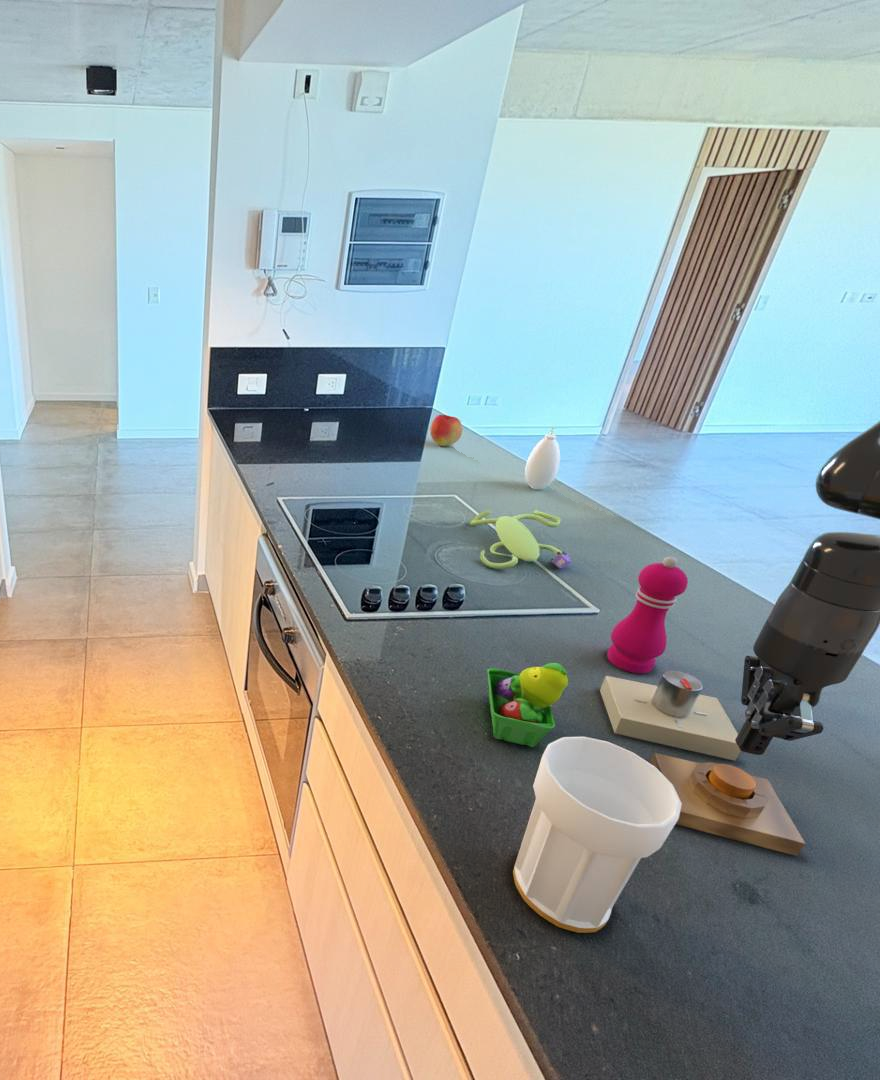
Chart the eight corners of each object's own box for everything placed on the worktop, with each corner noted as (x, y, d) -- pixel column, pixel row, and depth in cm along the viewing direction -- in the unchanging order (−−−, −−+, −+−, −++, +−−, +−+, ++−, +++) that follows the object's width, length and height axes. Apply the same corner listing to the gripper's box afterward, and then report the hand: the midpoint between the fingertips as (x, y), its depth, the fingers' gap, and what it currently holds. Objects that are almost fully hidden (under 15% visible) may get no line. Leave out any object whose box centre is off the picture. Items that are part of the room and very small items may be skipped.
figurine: (550, 528, 149) (556, 507, 146) (579, 582, 126) (587, 558, 124) (467, 519, 154) (471, 499, 151) (480, 569, 131) (486, 546, 129)
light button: (742, 779, 76) (748, 768, 76) (755, 803, 73) (762, 793, 72) (703, 769, 78) (708, 759, 77) (714, 793, 75) (720, 783, 74)
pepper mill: (594, 656, 104) (633, 552, 95) (618, 644, 107) (659, 542, 98) (640, 681, 99) (686, 573, 90) (664, 667, 101) (712, 561, 92)
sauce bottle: (551, 495, 167) (570, 431, 159) (519, 490, 171) (536, 427, 163) (552, 486, 173) (571, 424, 165) (521, 481, 177) (537, 420, 168)
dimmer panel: (709, 713, 92) (717, 696, 90) (735, 761, 84) (745, 743, 82) (599, 690, 97) (606, 674, 95) (614, 733, 88) (621, 716, 87)
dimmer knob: (646, 694, 91) (659, 665, 89) (682, 700, 90) (695, 671, 88) (657, 714, 88) (671, 684, 85) (694, 720, 86) (709, 691, 84)
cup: (523, 935, 63) (571, 819, 56) (488, 839, 73) (525, 730, 66) (643, 952, 62) (711, 835, 54) (591, 852, 72) (642, 741, 64)
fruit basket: (479, 692, 97) (496, 633, 92) (543, 705, 94) (564, 645, 89) (484, 742, 87) (503, 679, 82) (556, 759, 84) (580, 695, 79)
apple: (428, 448, 204) (434, 418, 200) (427, 439, 212) (432, 411, 208) (460, 450, 201) (466, 421, 197) (457, 442, 210) (463, 413, 205)
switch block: (760, 791, 79) (773, 768, 77) (797, 856, 71) (813, 833, 69) (648, 764, 83) (659, 742, 82) (671, 823, 75) (683, 800, 73)
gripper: (747, 591, 72) (690, 705, 80) (801, 656, 61) (729, 781, 69) (830, 604, 69) (763, 720, 77) (902, 674, 58) (816, 802, 66)
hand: (747, 749), depth 73 cm, fingers closed
